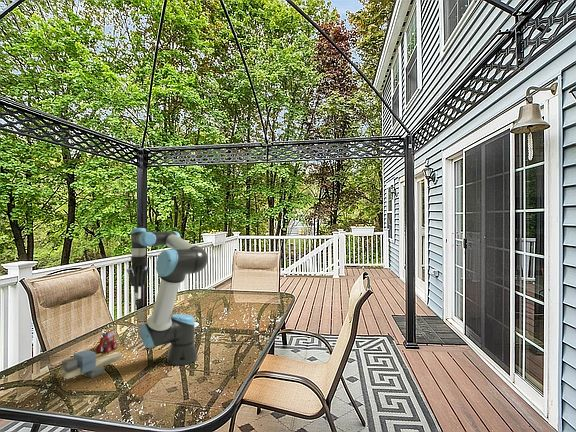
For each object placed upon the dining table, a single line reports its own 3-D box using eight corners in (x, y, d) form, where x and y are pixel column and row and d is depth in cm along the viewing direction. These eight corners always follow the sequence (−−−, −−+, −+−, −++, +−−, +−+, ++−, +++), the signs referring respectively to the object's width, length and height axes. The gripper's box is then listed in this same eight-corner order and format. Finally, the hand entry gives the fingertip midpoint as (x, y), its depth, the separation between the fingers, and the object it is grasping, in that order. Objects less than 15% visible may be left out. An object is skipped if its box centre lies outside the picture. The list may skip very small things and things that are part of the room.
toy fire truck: (93, 354, 191) (93, 335, 191) (108, 346, 203) (108, 328, 203) (105, 355, 190) (105, 335, 190) (119, 347, 202) (119, 329, 202)
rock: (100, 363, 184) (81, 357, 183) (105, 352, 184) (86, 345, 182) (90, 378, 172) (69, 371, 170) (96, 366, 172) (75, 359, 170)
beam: (123, 366, 175) (123, 345, 175) (68, 386, 153) (69, 363, 153) (115, 363, 179) (115, 343, 179) (60, 383, 157) (60, 360, 157)
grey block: (95, 368, 163) (95, 352, 163) (82, 373, 158) (82, 356, 158) (86, 365, 167) (86, 349, 167) (73, 369, 162) (73, 353, 162)
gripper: (144, 254, 203) (143, 295, 203) (123, 256, 192) (123, 299, 192) (152, 255, 200) (152, 297, 199) (132, 257, 188) (131, 301, 188)
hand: (138, 298), depth 195 cm, fingers closed
